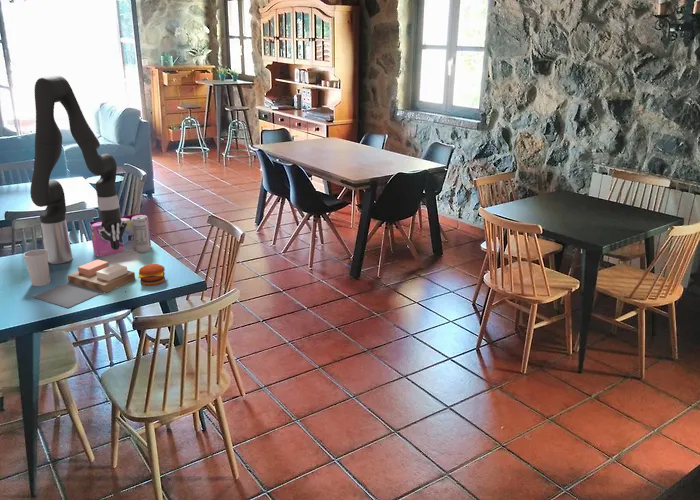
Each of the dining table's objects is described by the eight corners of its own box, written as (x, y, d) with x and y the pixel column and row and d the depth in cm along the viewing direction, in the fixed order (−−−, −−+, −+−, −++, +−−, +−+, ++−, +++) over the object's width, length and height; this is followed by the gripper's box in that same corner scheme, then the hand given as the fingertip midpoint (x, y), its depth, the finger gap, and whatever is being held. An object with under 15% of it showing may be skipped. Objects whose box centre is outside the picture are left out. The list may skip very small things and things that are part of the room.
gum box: (148, 241, 270) (145, 212, 266) (154, 246, 264) (151, 216, 260) (93, 251, 258) (88, 221, 253) (97, 257, 251) (93, 226, 247)
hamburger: (139, 287, 222) (137, 271, 220) (141, 278, 231) (139, 262, 228) (165, 285, 224) (163, 268, 222) (166, 275, 233) (164, 259, 231)
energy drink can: (152, 248, 261) (148, 215, 256) (148, 253, 255) (144, 219, 250) (138, 248, 261) (133, 215, 256) (133, 253, 255) (129, 220, 250)
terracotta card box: (78, 273, 227) (77, 266, 226) (98, 265, 235) (97, 259, 234) (89, 275, 225) (88, 269, 224) (109, 268, 232) (108, 262, 231)
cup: (57, 280, 228) (52, 250, 224) (41, 288, 221) (35, 257, 217) (41, 277, 231) (35, 248, 227) (24, 285, 224) (18, 255, 220)
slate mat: (32, 297, 214) (32, 296, 214) (68, 282, 226) (68, 281, 226) (68, 308, 205) (68, 307, 205) (103, 292, 218) (103, 291, 218)
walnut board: (68, 282, 226) (67, 275, 225) (99, 270, 238) (97, 263, 237) (105, 293, 217) (104, 285, 216) (135, 279, 229) (134, 272, 228)
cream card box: (97, 277, 223) (96, 271, 222) (116, 269, 230) (115, 263, 229) (108, 281, 220) (107, 274, 219) (127, 272, 228) (126, 266, 227)
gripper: (115, 201, 238) (122, 242, 244) (87, 209, 227) (95, 252, 233) (129, 203, 235) (135, 245, 240) (101, 212, 224) (108, 255, 230)
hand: (115, 249), depth 237 cm, fingers closed
